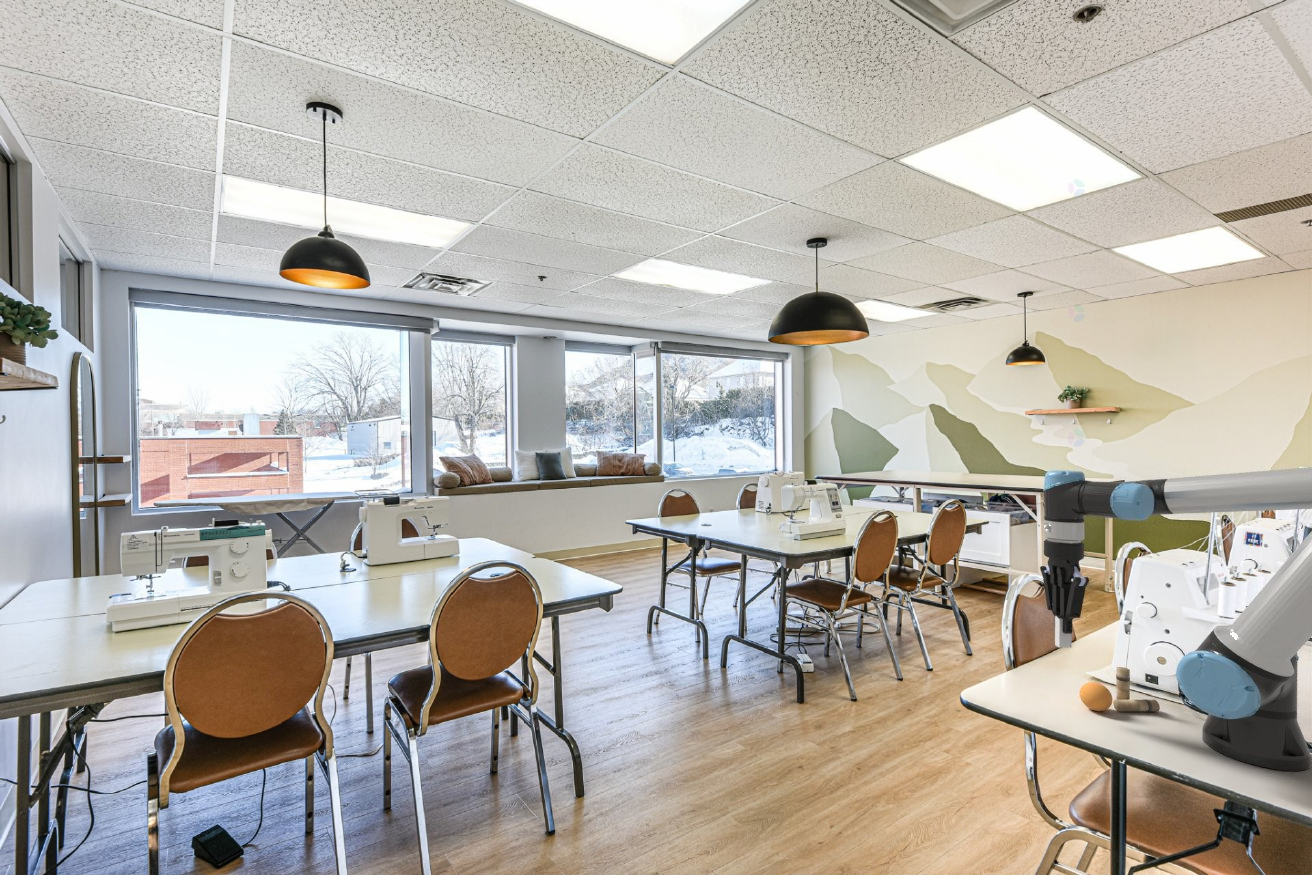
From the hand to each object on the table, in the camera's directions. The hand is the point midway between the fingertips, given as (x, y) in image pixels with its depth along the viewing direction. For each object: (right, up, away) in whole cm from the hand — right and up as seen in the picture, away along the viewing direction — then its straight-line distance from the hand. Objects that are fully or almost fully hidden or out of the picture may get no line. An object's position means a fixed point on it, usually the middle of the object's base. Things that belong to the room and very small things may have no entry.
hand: (1063, 646), depth 138 cm
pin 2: (+12, -13, 0) cm, 18 cm away
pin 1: (+15, -15, +3) cm, 21 cm away
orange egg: (+8, -12, +1) cm, 14 cm away
